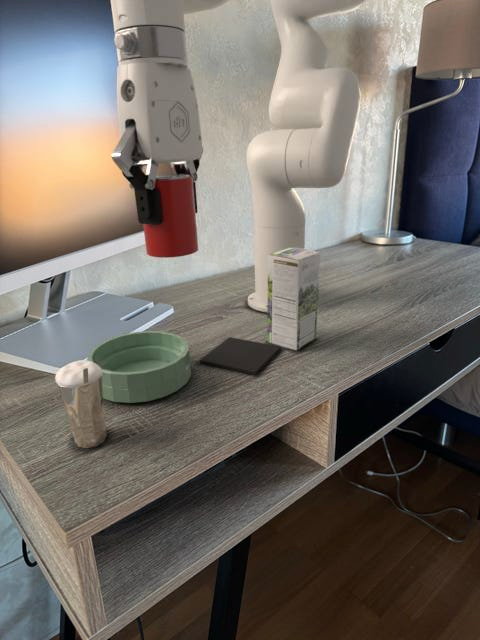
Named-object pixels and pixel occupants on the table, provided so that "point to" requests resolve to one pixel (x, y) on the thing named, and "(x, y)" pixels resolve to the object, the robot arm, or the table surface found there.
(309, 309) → the syrup box
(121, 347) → the dish
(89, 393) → the milkshake
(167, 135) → the robot arm
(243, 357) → the coaster
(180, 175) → the can
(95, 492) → the table surface
